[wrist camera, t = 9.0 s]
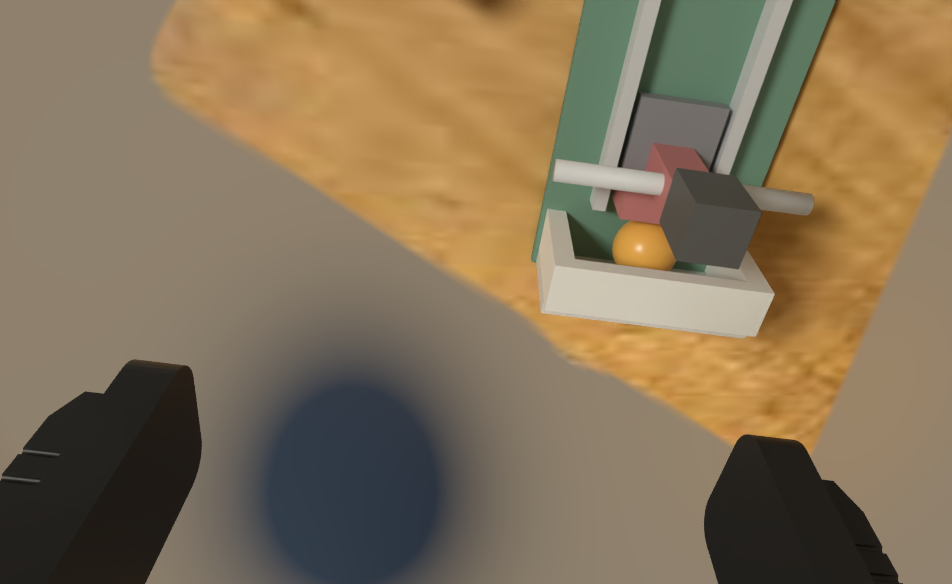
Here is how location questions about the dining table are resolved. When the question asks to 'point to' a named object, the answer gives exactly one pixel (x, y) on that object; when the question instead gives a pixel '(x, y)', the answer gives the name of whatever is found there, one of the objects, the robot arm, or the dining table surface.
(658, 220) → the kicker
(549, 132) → the dining table surface
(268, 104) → the dining table surface
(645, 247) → the ball
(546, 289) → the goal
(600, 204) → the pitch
